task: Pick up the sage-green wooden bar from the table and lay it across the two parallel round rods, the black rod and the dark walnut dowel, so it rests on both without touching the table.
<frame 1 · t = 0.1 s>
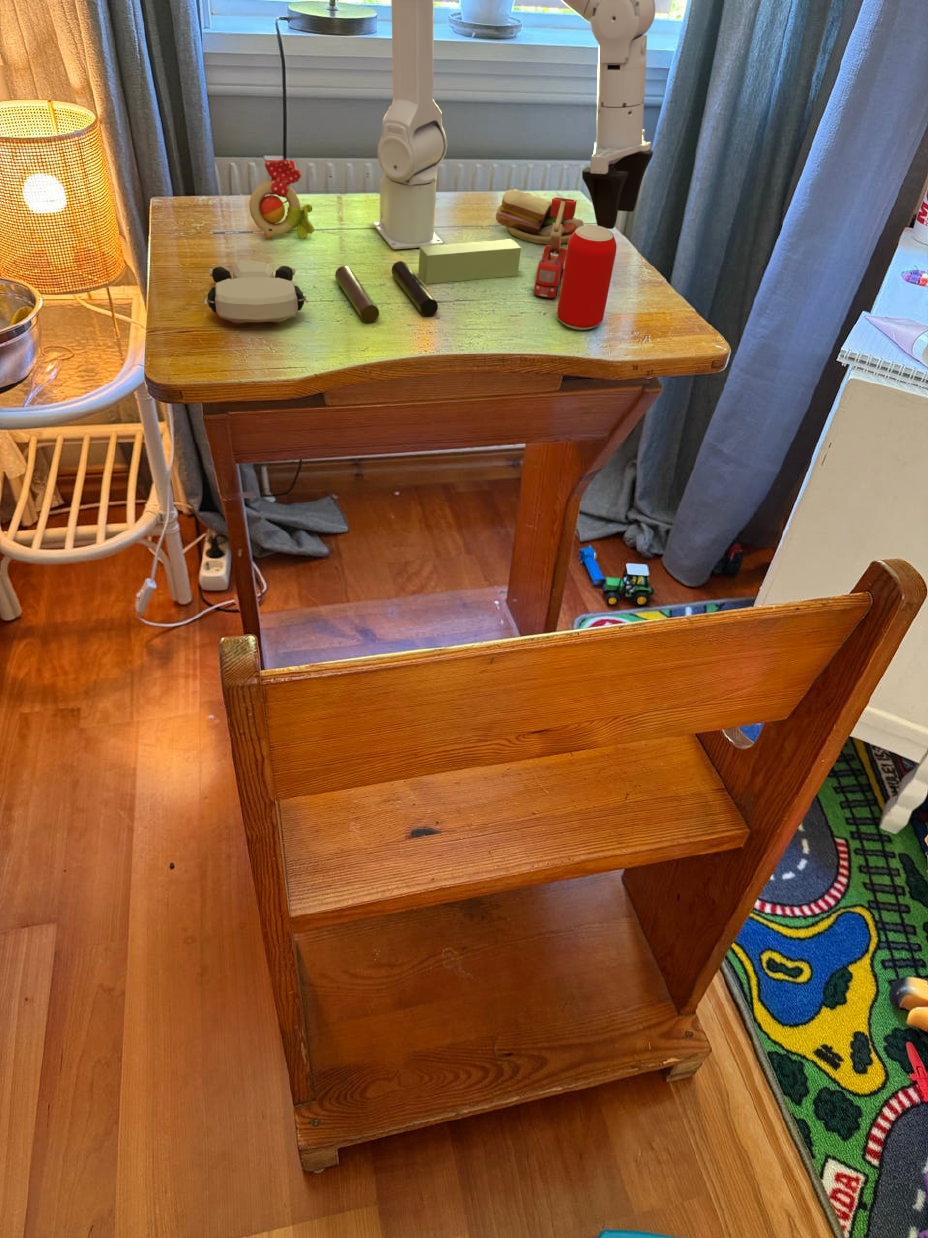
hand: (616, 218, 121), 11 cm above the table, tool pointing down, fingers open, 7 cm apart
bar: (468, 274, 130), on the table
walnut rod: (356, 302, 121), on the table
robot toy: (256, 310, 118), on the table
beverage can: (578, 324, 122), on the table
toy sandwich meal: (537, 232, 144), on the table
black rod: (413, 296, 123), on the table
bird rattle: (284, 237, 135), on the table
toy fire truck: (549, 281, 131), on the table
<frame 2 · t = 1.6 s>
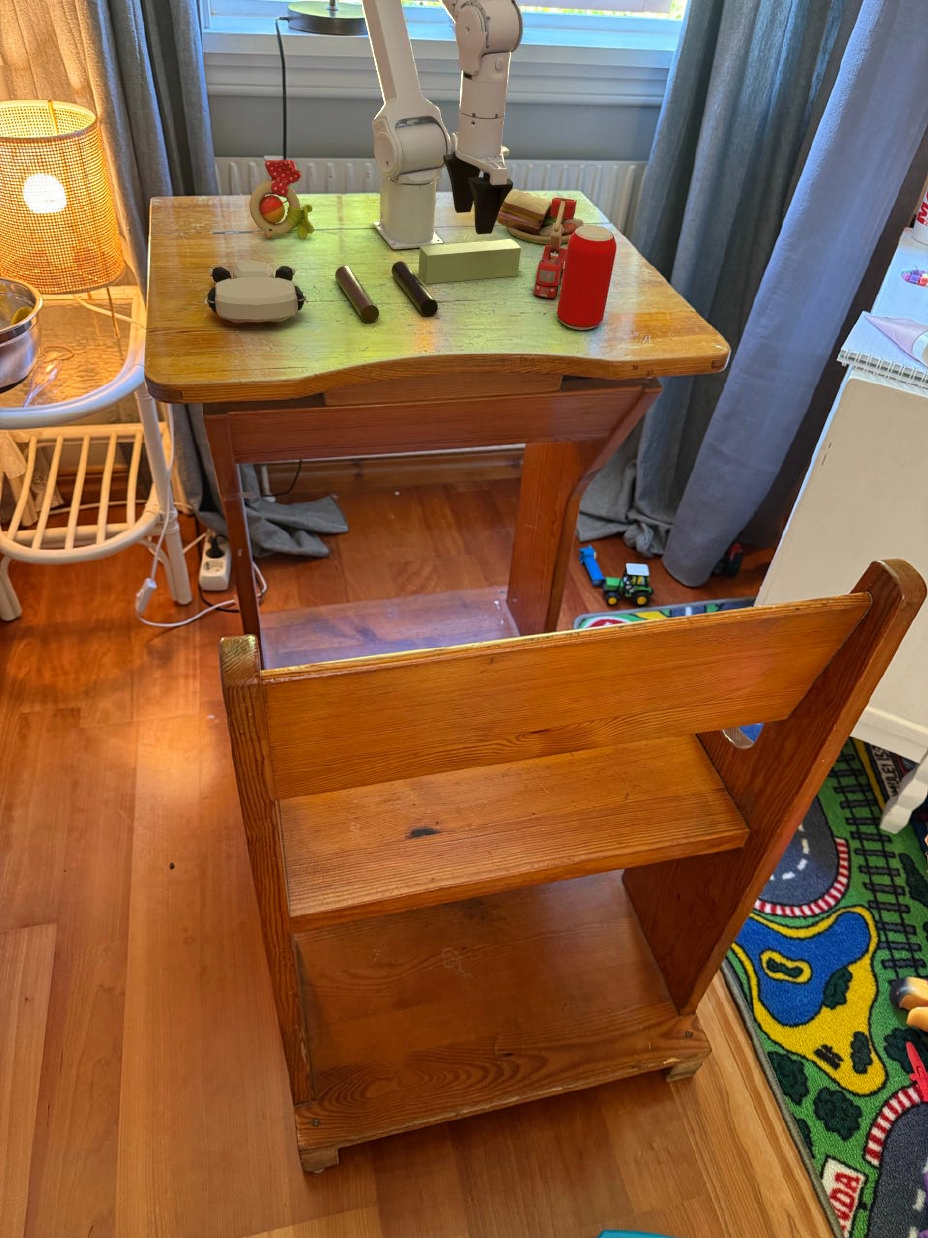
hand: (473, 222, 125), 7 cm above the table, tool pointing down, fingers open, 7 cm apart
nothing on the table moved.
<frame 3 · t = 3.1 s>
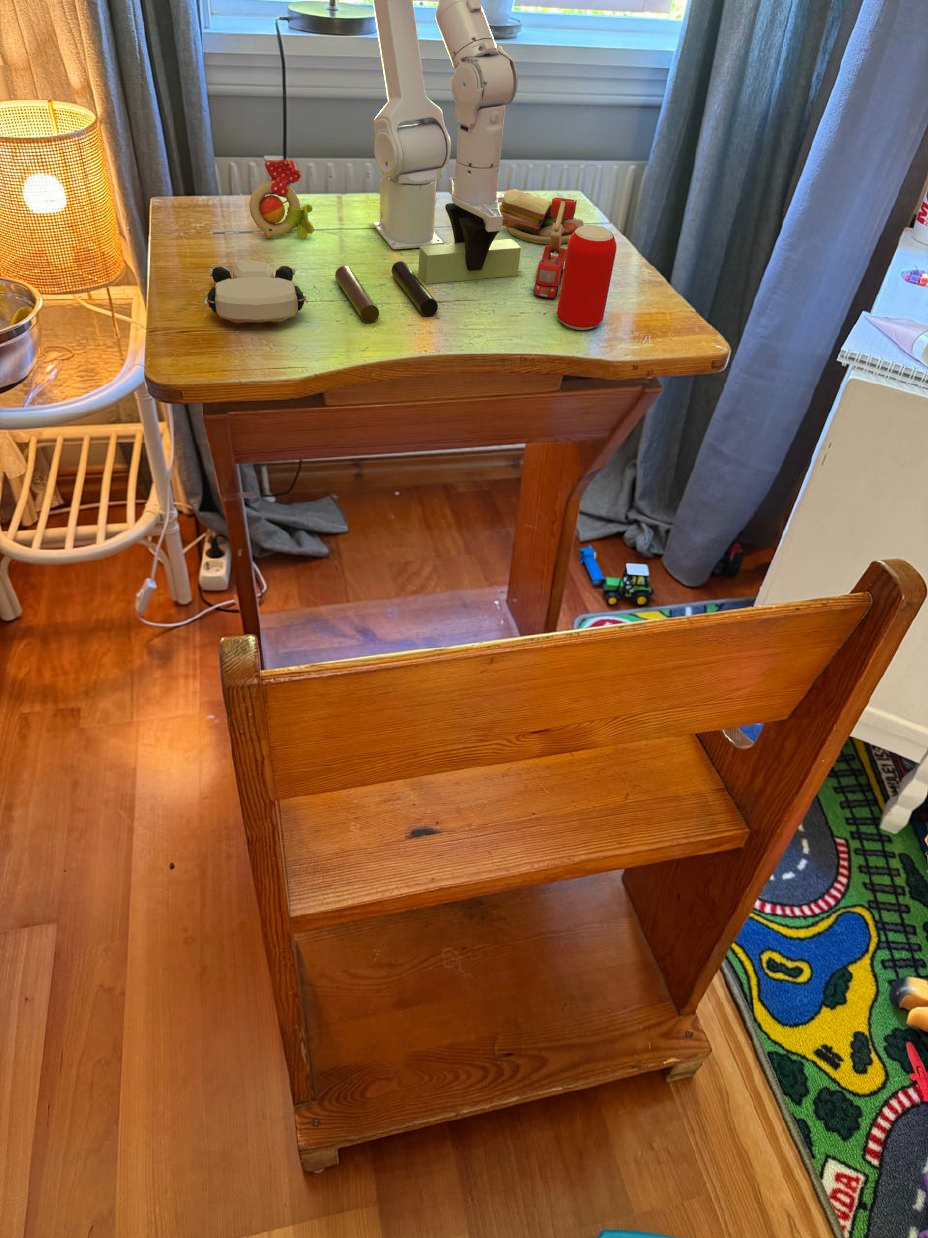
hand: (469, 263, 129), 2 cm above the table, tool pointing down, fingers closed on bar, 3 cm apart
bar: (468, 274, 130), on the table, touching gripper
everything else where it was.
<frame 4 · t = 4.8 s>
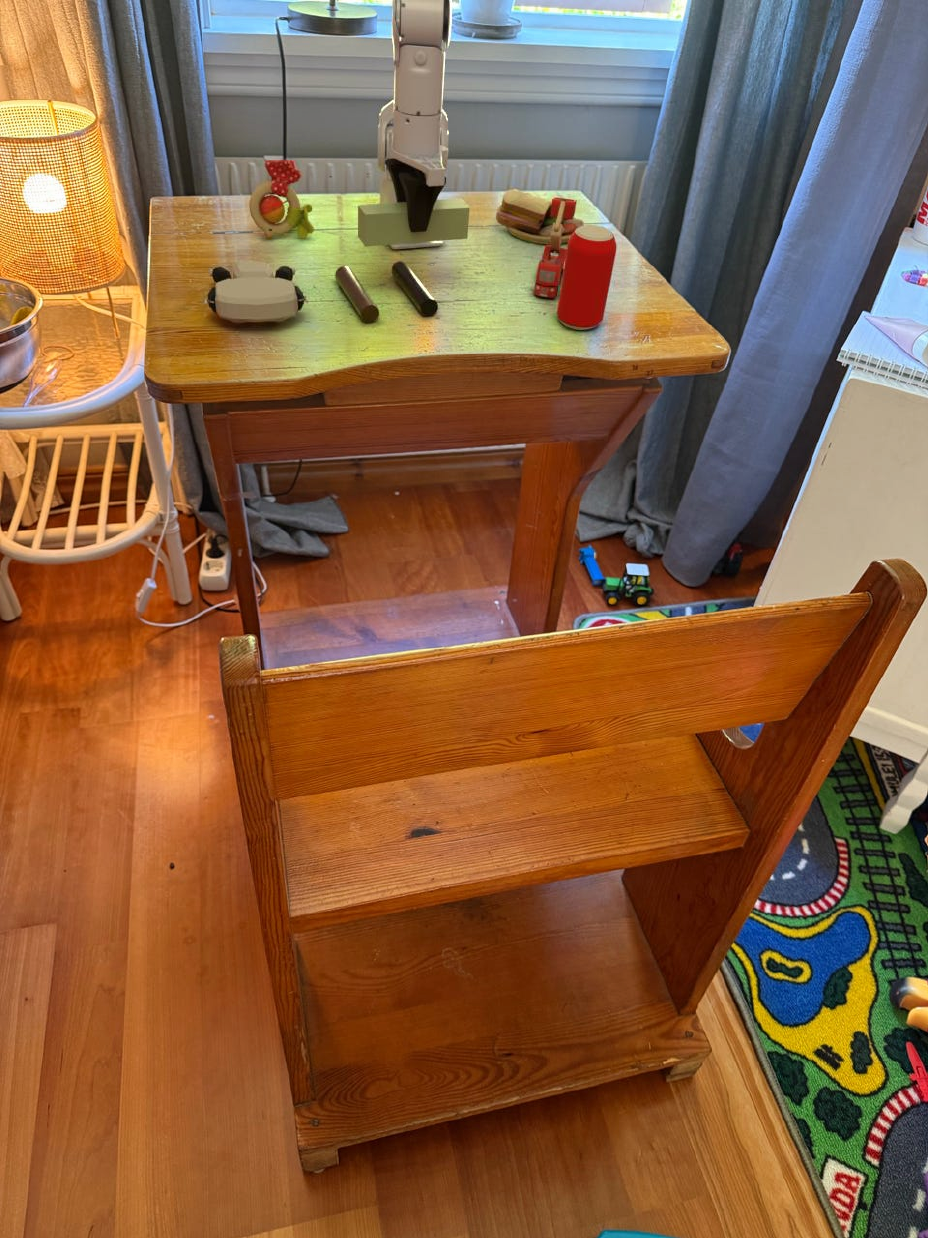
hand: (413, 225, 118), 9 cm above the table, tool pointing down, fingers closed on bar, 3 cm apart
bar: (413, 237, 119), point 7 cm above the table, touching gripper
everything else where it was.
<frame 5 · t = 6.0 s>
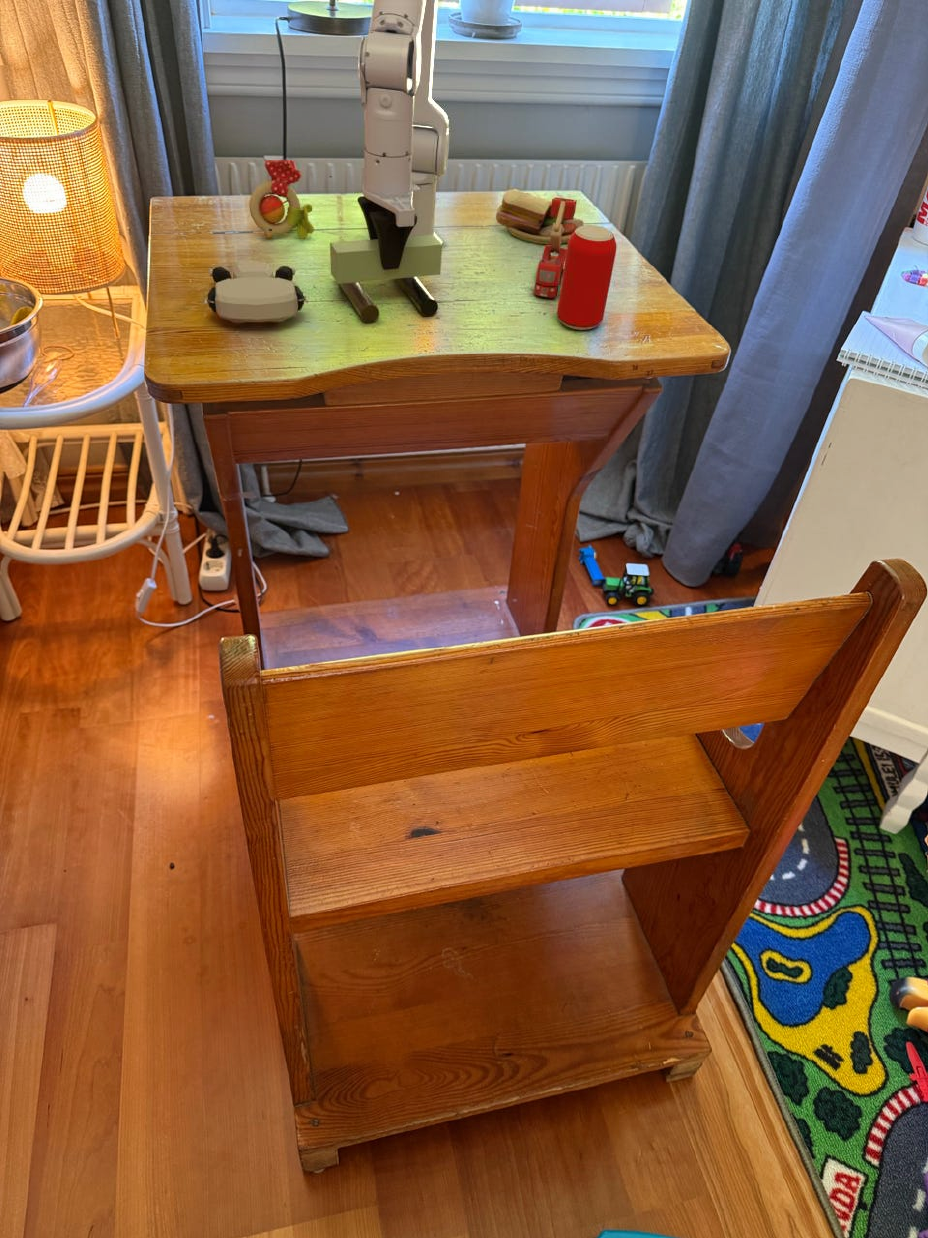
hand: (386, 262, 119), 5 cm above the table, tool pointing down, fingers closed on bar, 3 cm apart
bar: (386, 274, 120), point 3 cm above the table, touching gripper
everything else where it was.
when the fingers open (4 cm above the table, at t = 6.7 s): bar stays where it is, resting on black rod, walnut rod.
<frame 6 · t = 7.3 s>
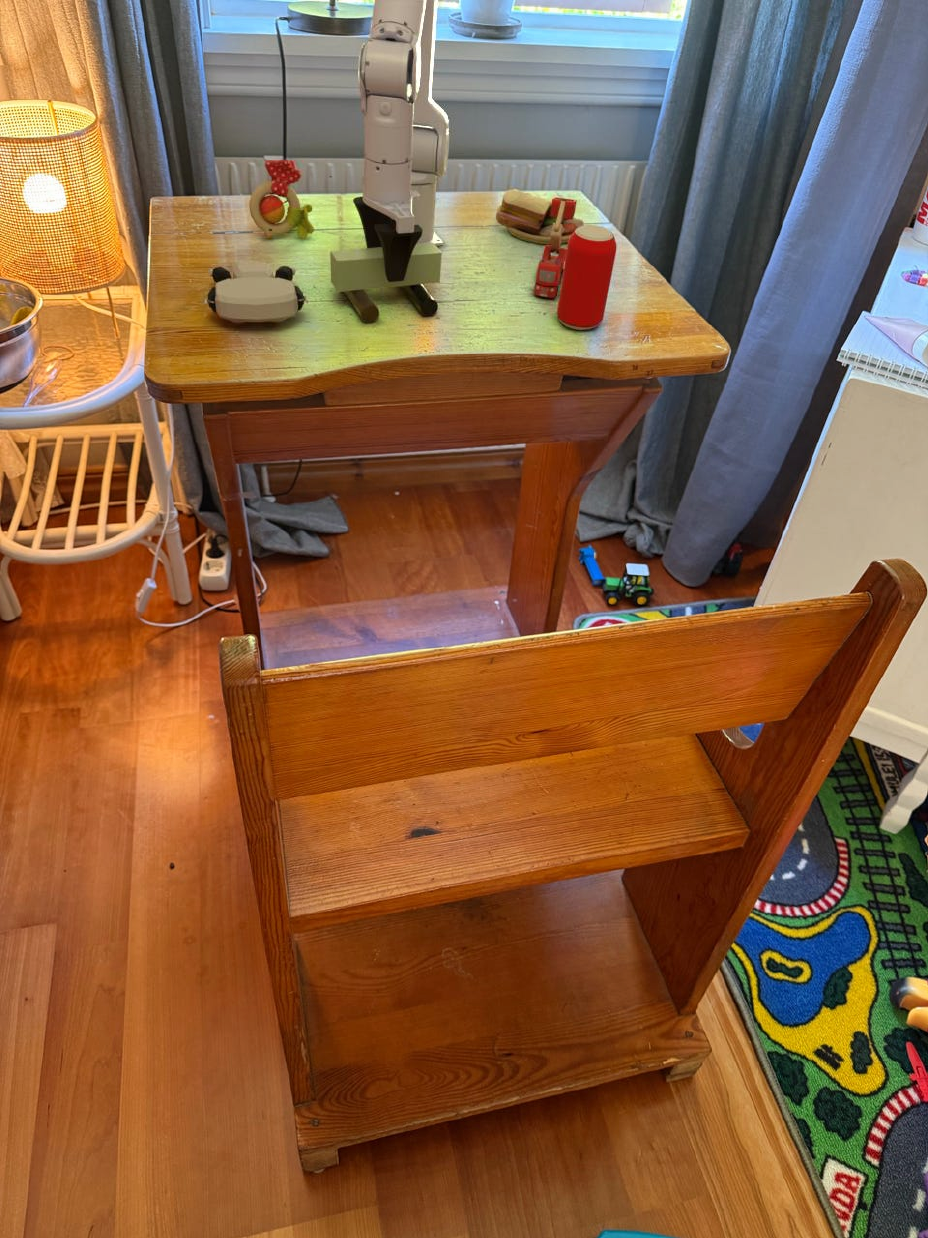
hand: (386, 267, 119), 4 cm above the table, tool pointing down, fingers open, 7 cm apart
bar: (385, 281, 121), point 2 cm above the table, touching black rod, walnut rod
everything else where it was.
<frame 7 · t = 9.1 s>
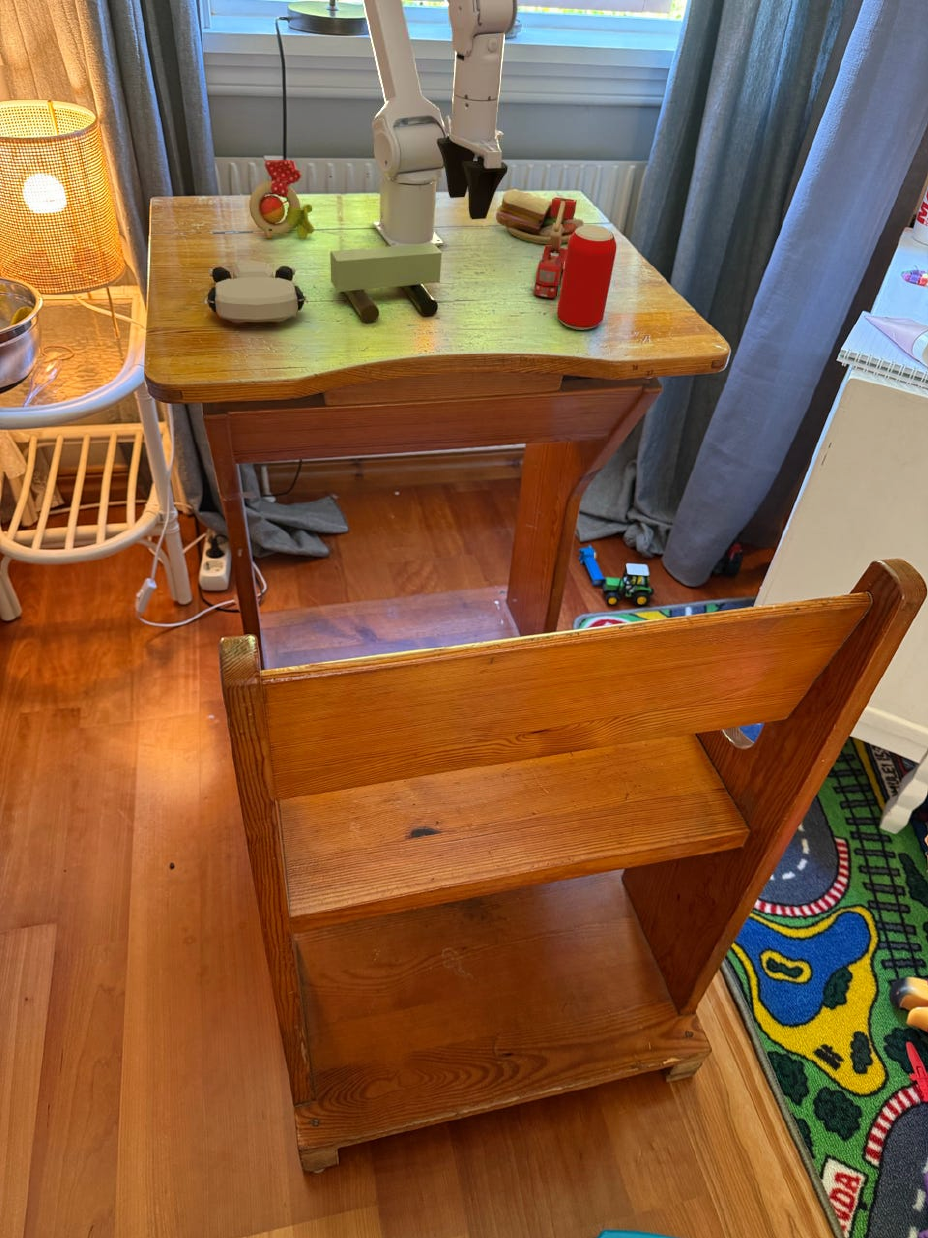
hand: (467, 207, 123), 9 cm above the table, tool pointing down, fingers open, 7 cm apart
nothing on the table moved.
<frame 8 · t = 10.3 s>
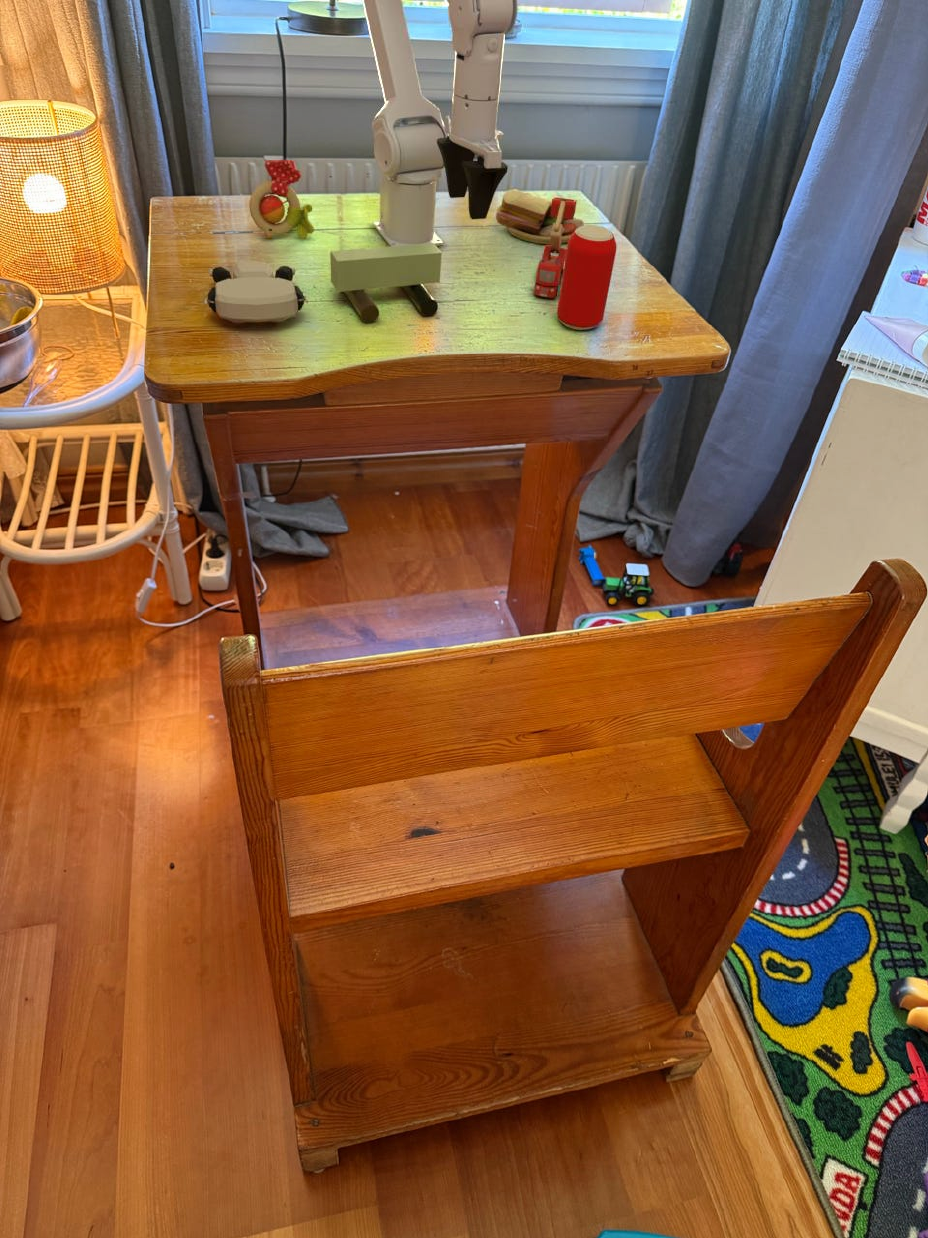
hand: (467, 207, 123), 9 cm above the table, tool pointing down, fingers open, 7 cm apart
nothing on the table moved.
at the end: bar touching black rod, walnut rod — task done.
